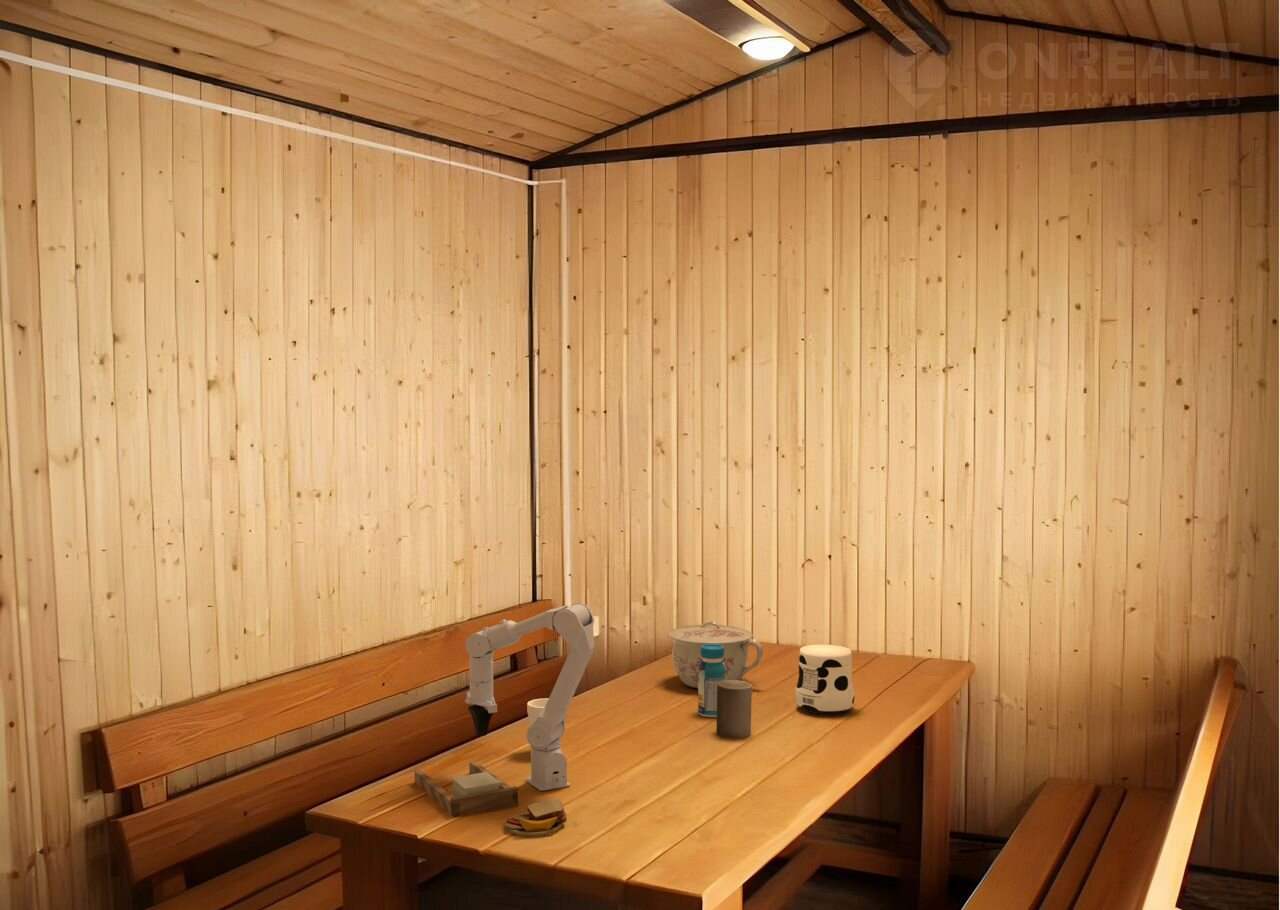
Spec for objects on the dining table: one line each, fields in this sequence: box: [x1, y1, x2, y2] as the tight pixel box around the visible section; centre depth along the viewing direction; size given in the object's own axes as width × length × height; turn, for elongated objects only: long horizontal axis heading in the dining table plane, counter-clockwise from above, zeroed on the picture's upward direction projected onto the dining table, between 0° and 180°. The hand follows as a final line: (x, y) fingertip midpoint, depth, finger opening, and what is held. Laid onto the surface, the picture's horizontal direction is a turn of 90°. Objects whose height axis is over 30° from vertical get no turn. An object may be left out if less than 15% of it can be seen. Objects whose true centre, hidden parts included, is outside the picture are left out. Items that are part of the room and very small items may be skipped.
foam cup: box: [526, 697, 549, 727], centre depth 309 cm, size 10×9×13 cm
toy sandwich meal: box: [503, 797, 567, 837], centre depth 256 cm, size 12×14×5 cm
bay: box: [414, 760, 519, 818], centre depth 277 cm, size 26×16×4 cm, turn 29°
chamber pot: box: [667, 620, 764, 690], centre depth 380 cm, size 28×28×21 cm
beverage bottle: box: [697, 644, 727, 718], centre depth 346 cm, size 8×8×20 cm
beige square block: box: [450, 772, 501, 797], centre depth 271 cm, size 9×9×5 cm
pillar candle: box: [715, 680, 753, 739], centre depth 327 cm, size 10×10×15 cm
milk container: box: [795, 644, 856, 715], centre depth 351 cm, size 17×17×18 cm
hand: (481, 735), depth 290 cm, fingers closed
